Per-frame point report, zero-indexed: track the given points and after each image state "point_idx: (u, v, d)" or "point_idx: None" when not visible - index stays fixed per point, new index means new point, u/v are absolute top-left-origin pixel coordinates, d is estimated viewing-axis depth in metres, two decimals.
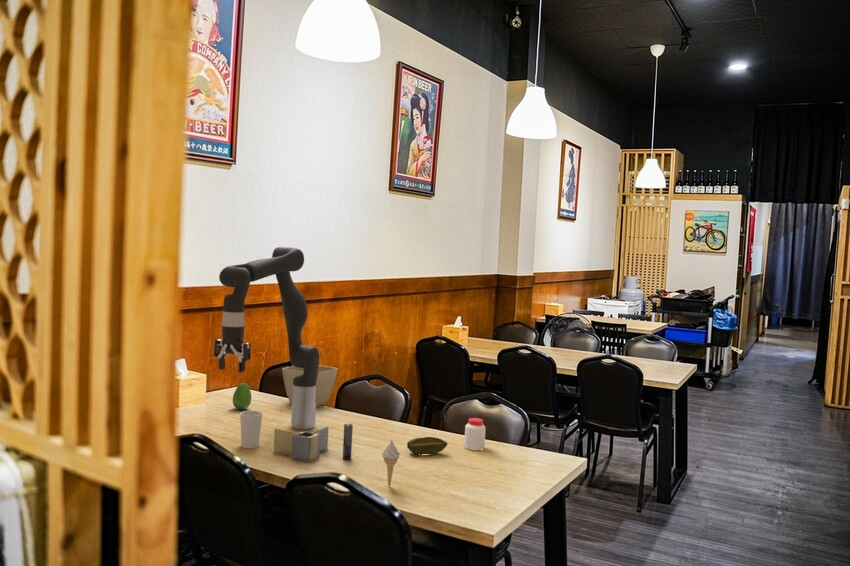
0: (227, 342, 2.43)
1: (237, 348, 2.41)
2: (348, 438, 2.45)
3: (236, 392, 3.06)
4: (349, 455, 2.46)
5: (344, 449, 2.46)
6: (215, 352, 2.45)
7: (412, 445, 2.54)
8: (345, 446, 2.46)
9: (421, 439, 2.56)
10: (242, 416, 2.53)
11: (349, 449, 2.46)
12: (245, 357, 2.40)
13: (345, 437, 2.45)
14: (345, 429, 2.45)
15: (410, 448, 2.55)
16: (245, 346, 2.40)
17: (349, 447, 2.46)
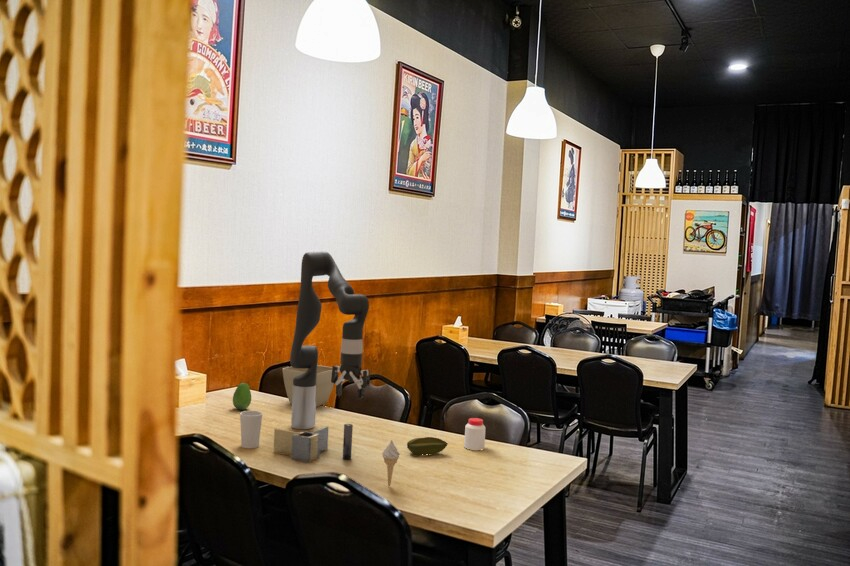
0: (346, 369, 2.45)
1: (356, 375, 2.43)
2: (348, 438, 2.45)
3: (236, 392, 3.06)
4: (349, 455, 2.46)
5: (344, 449, 2.46)
6: (333, 378, 2.47)
7: (412, 445, 2.54)
8: (345, 446, 2.46)
9: (421, 439, 2.56)
10: (242, 416, 2.53)
11: (349, 449, 2.46)
12: (365, 384, 2.42)
13: (345, 437, 2.45)
14: (345, 429, 2.45)
15: (410, 448, 2.55)
16: (365, 373, 2.42)
17: (349, 447, 2.46)
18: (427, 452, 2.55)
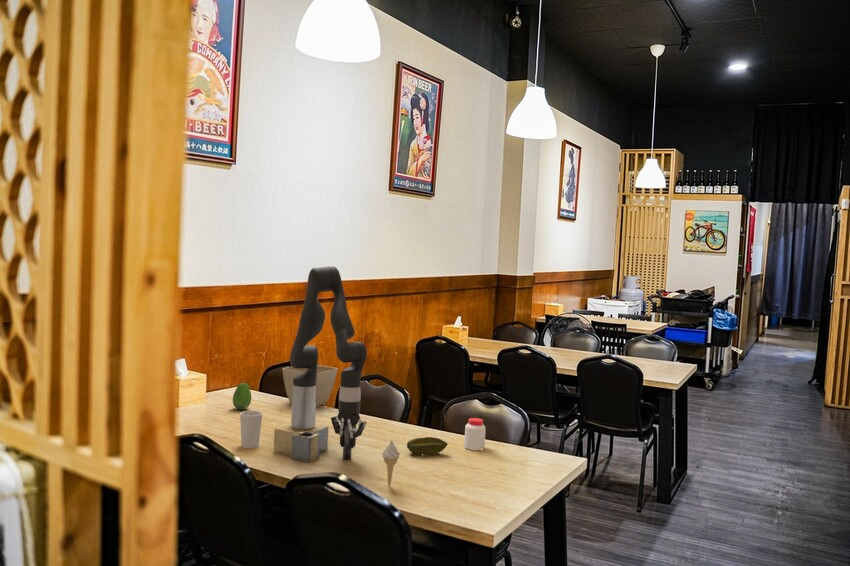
0: (344, 416, 2.46)
1: (353, 424, 2.44)
2: (348, 438, 2.45)
3: (236, 392, 3.06)
4: (349, 455, 2.46)
5: (344, 449, 2.46)
6: (335, 429, 2.47)
7: (412, 445, 2.54)
8: (345, 446, 2.46)
9: (421, 439, 2.56)
10: (242, 416, 2.53)
11: (349, 449, 2.46)
12: (357, 434, 2.44)
13: (345, 437, 2.45)
14: (345, 429, 2.45)
15: (410, 448, 2.55)
16: (361, 425, 2.43)
17: None
18: (427, 452, 2.55)
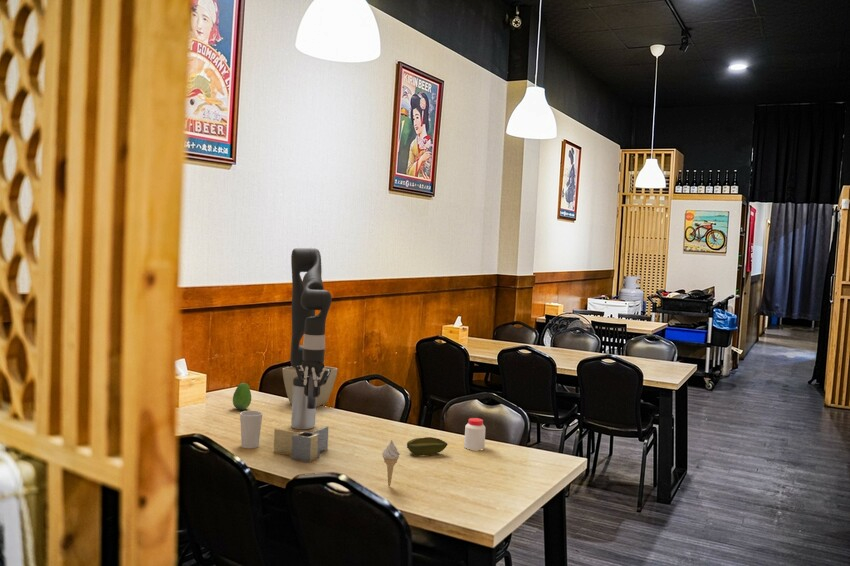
0: (308, 365, 2.43)
1: (317, 373, 2.42)
2: (313, 387, 2.42)
3: (236, 392, 3.06)
4: (313, 404, 2.43)
5: (308, 398, 2.43)
6: (300, 378, 2.44)
7: (411, 445, 2.54)
8: (309, 395, 2.43)
9: (421, 439, 2.56)
10: (242, 416, 2.53)
11: (313, 398, 2.43)
12: (321, 382, 2.41)
13: (310, 386, 2.42)
14: (309, 378, 2.42)
15: (409, 448, 2.55)
16: (326, 373, 2.40)
17: (313, 396, 2.43)
18: (427, 452, 2.55)
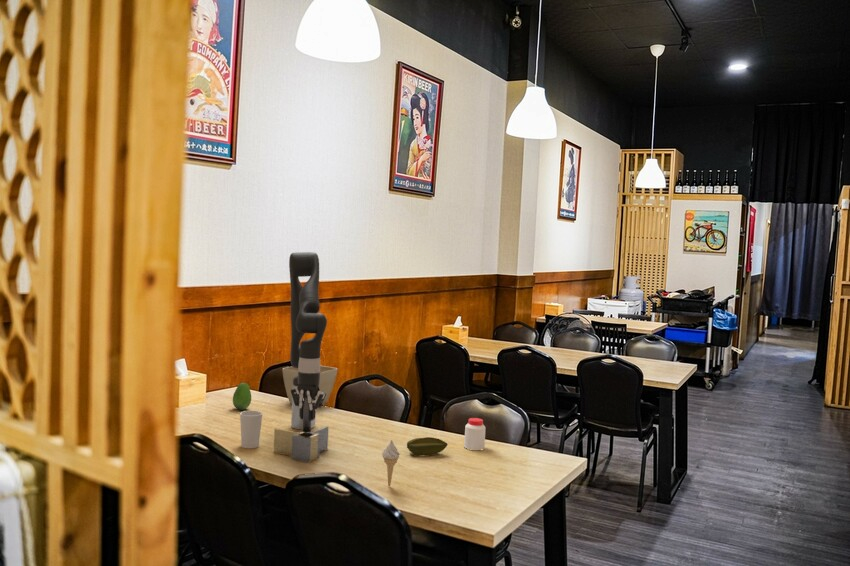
0: (303, 388, 2.43)
1: (312, 396, 2.42)
2: (308, 410, 2.43)
3: (236, 392, 3.06)
4: (308, 427, 2.43)
5: (303, 421, 2.43)
6: (295, 401, 2.45)
7: (411, 445, 2.54)
8: (304, 418, 2.43)
9: (421, 439, 2.56)
10: (242, 416, 2.53)
11: (308, 421, 2.43)
12: (316, 405, 2.41)
13: (305, 409, 2.43)
14: (304, 401, 2.43)
15: (409, 448, 2.55)
16: (321, 397, 2.40)
17: (308, 419, 2.43)
18: (427, 452, 2.55)
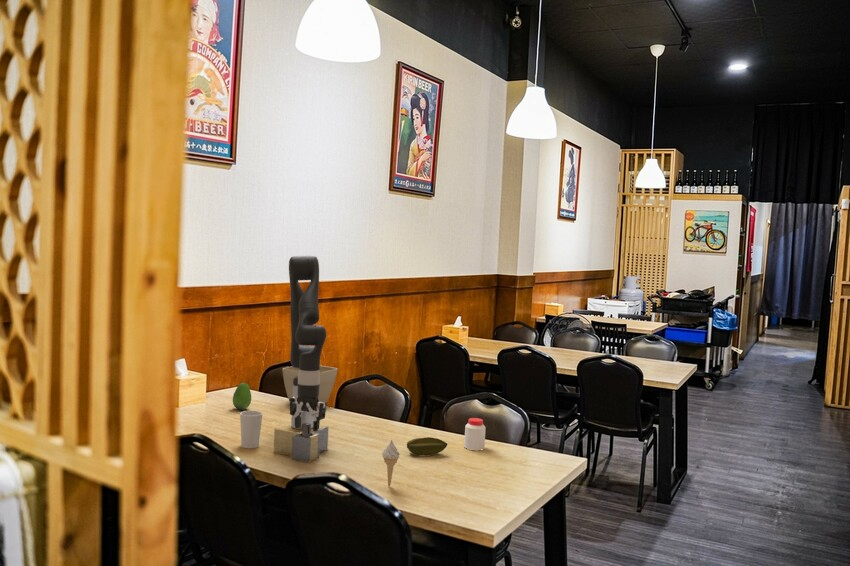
0: (303, 400, 2.43)
1: (313, 407, 2.42)
2: None
3: (236, 392, 3.06)
4: None
5: None
6: (291, 410, 2.46)
7: (411, 445, 2.54)
8: None
9: (421, 439, 2.56)
10: (242, 416, 2.53)
11: None
12: (320, 416, 2.40)
13: None
14: (303, 428, 2.43)
15: (409, 448, 2.55)
16: (321, 406, 2.40)
17: None
18: (427, 452, 2.55)
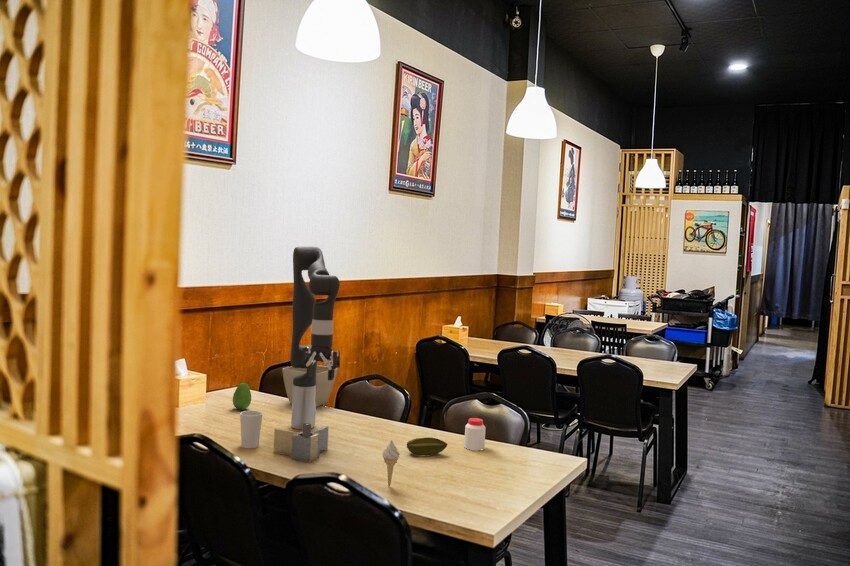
0: (316, 350, 2.44)
1: (326, 356, 2.42)
2: None
3: (236, 392, 3.06)
4: None
5: None
6: (303, 360, 2.46)
7: (411, 445, 2.54)
8: None
9: (420, 439, 2.56)
10: (242, 416, 2.53)
11: None
12: (335, 365, 2.40)
13: None
14: (303, 429, 2.43)
15: (409, 448, 2.55)
16: (335, 354, 2.40)
17: None
18: (426, 452, 2.55)
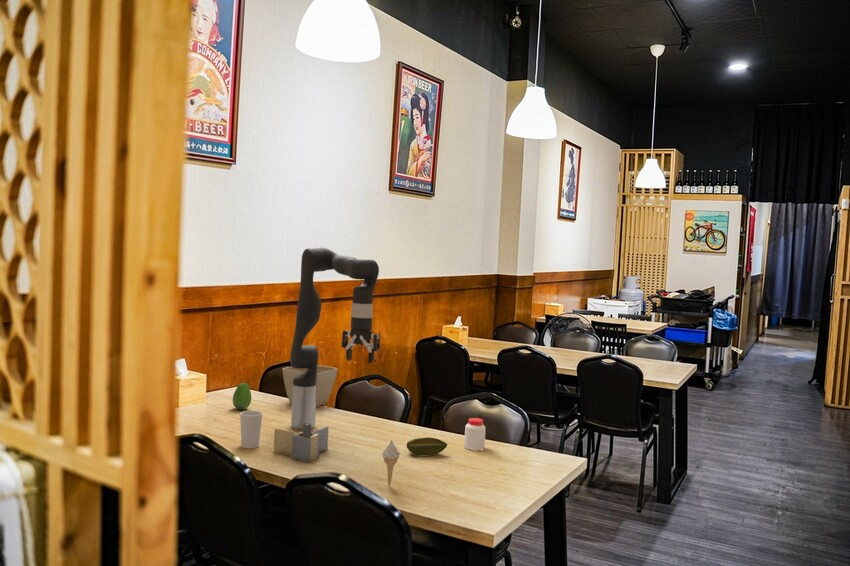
0: (356, 333, 2.48)
1: (366, 339, 2.46)
2: None
3: (236, 392, 3.06)
4: None
5: None
6: (343, 343, 2.50)
7: (411, 445, 2.54)
8: None
9: (420, 439, 2.55)
10: (242, 416, 2.53)
11: None
12: (375, 348, 2.44)
13: None
14: (303, 429, 2.43)
15: (409, 448, 2.55)
16: (375, 337, 2.44)
17: None
18: (426, 452, 2.55)
